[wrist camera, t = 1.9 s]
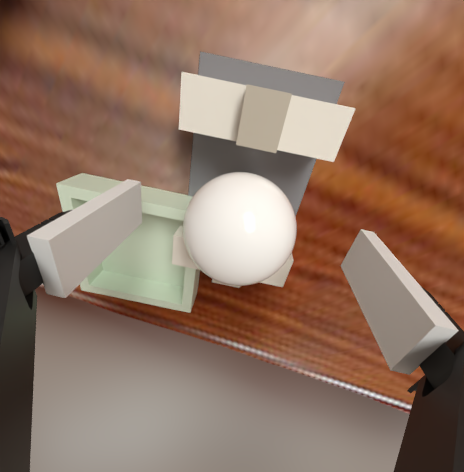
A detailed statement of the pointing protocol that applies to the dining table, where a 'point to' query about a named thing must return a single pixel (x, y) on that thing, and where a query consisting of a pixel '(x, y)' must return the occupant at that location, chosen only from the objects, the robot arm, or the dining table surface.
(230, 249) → the lightbulb
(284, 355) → the dining table surface
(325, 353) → the dining table surface
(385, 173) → the dining table surface
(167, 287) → the tray
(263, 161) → the holder
